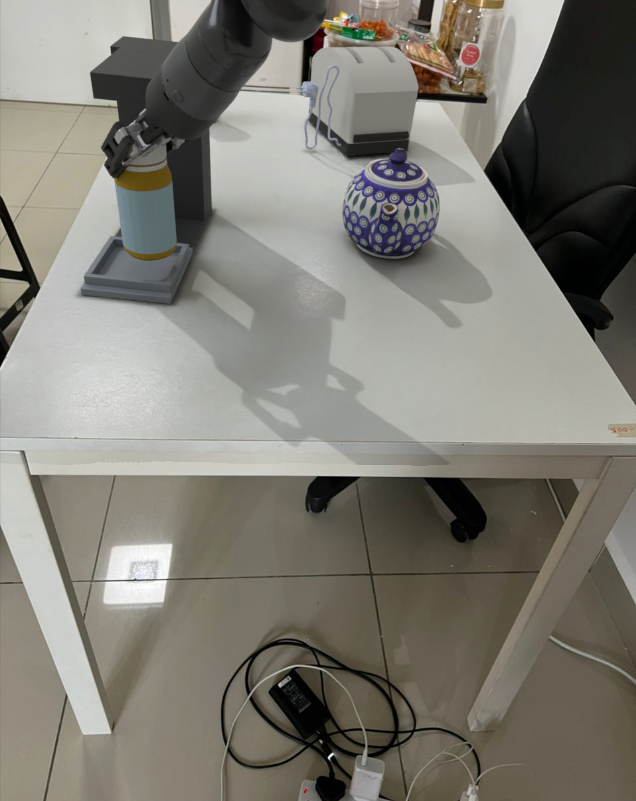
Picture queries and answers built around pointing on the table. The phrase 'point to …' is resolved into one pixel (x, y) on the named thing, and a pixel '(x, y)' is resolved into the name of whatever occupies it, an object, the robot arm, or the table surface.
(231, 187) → the table surface
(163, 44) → the coffee maker
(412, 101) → the toaster
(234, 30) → the robot arm
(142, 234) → the bottle
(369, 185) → the teapot
